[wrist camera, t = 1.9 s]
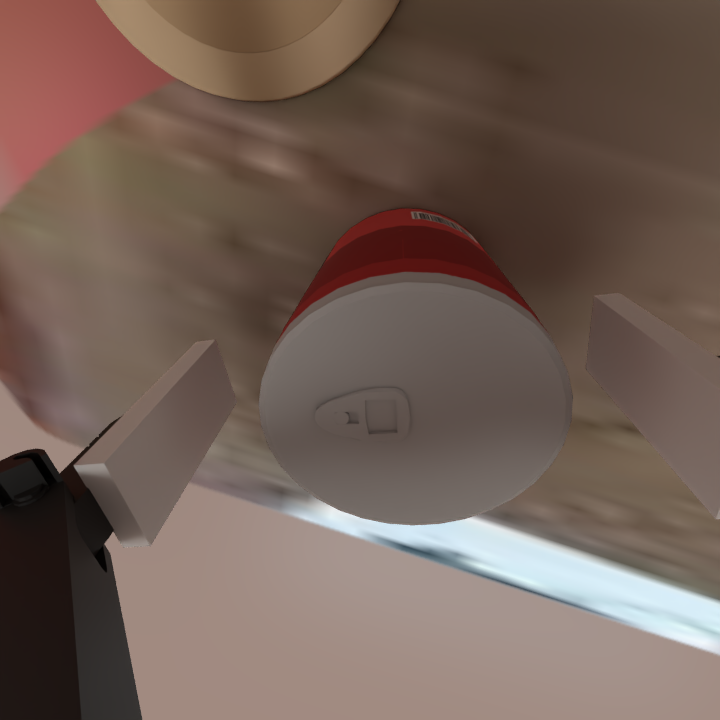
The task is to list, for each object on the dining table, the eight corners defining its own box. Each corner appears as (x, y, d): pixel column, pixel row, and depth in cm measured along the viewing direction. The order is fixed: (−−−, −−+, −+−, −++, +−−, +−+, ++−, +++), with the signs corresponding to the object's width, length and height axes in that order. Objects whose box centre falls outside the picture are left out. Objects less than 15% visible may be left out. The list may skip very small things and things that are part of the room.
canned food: (298, 239, 19) (199, 341, 10) (466, 176, 18) (551, 223, 8) (355, 373, 23) (324, 549, 13) (502, 331, 21) (594, 500, 11)
